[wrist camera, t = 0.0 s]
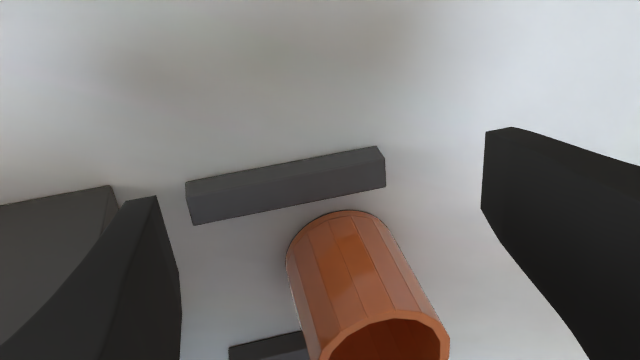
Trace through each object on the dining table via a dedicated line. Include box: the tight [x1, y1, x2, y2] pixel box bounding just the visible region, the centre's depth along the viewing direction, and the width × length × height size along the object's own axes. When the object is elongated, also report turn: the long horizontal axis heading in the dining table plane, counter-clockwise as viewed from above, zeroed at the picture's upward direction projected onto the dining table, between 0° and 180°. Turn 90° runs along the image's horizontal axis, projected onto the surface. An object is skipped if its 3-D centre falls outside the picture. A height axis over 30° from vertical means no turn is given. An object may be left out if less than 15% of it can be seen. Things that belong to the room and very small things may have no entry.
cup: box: [285, 210, 450, 360], centre depth 23 cm, size 5×5×6 cm
